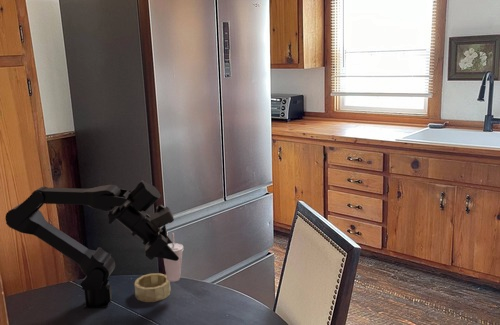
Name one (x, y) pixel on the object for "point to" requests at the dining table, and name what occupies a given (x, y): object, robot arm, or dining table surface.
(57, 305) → the dining table surface
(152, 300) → the collar
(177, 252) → the smoothie
